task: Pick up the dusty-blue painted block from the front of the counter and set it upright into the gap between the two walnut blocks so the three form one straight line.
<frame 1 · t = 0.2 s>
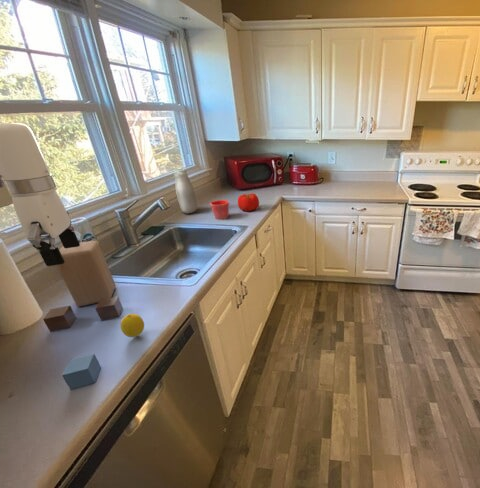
hand: (64, 255, 68), 29 cm above the countertop, tool pointing down, fingers open, 9 cm apart
block left: (63, 324, 88), on the countertop
glass bottle: (190, 213, 183), on the countertop
blue block: (86, 378, 70), on the countertop
block right: (112, 314, 92), on the countertop
block: (98, 297, 101), on the countertop
lemon: (137, 336, 83), on the countertop
flower pot: (222, 217, 175), on the countertop
tomato: (249, 210, 188), on the countertop
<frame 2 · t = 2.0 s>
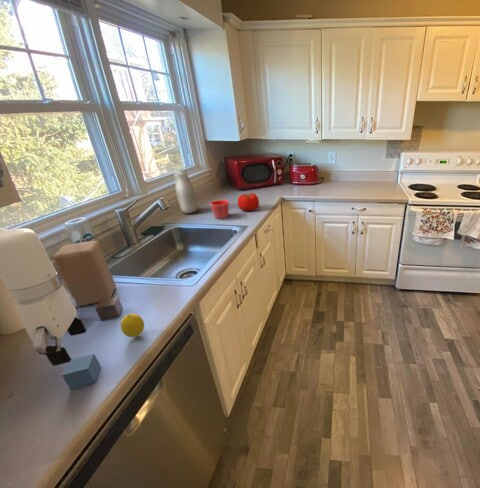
hand: (71, 347, 66), 10 cm above the countertop, tool pointing down, fingers open, 9 cm apart
nothing on the countertop moved.
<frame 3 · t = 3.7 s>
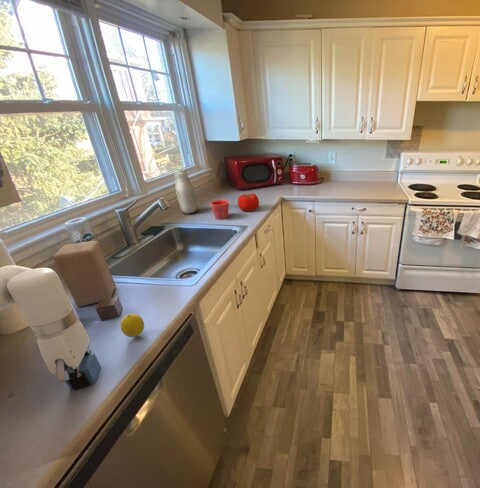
hand: (85, 376, 70), 0 cm above the countertop, tool pointing down, fingers closed on blue block, 5 cm apart
blue block: (86, 378, 70), on the countertop, touching gripper
everything else where it was.
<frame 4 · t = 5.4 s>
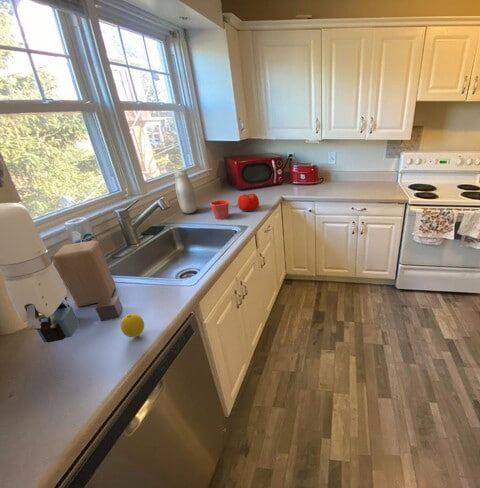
hand: (61, 330, 65), 14 cm above the countertop, tool pointing down, fingers closed on blue block, 5 cm apart
blue block: (62, 332, 65), point 14 cm above the countertop, touching gripper
everything else where it was.
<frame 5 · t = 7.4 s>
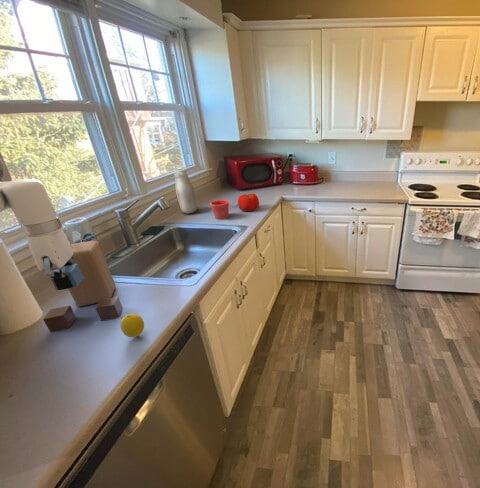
hand: (69, 282, 83), 15 cm above the countertop, tool pointing down, fingers closed on blue block, 5 cm apart
blue block: (70, 283, 83), point 14 cm above the countertop, touching gripper
everything else where it was.
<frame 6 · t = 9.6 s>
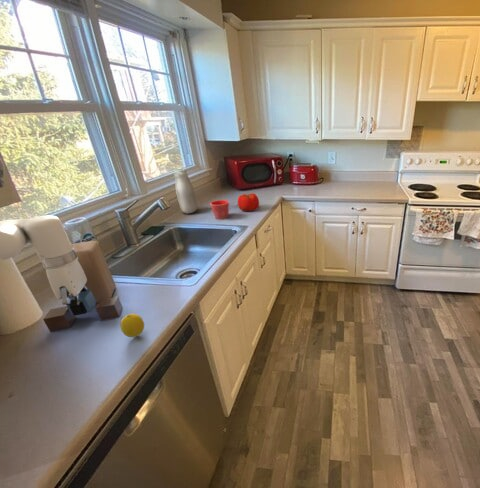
hand: (83, 308, 88), 4 cm above the countertop, tool pointing down, fingers closed on blue block, 5 cm apart
blue block: (84, 309, 89), point 4 cm above the countertop, touching gripper
everything else where it was.
when the fingers open (0 cm above the countertop, at t = 11.1 s): blue block stays where it is, on the countertop.
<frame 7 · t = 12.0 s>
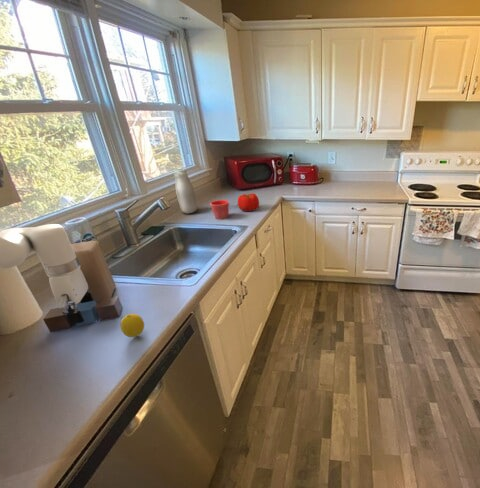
hand: (83, 313, 89), 3 cm above the countertop, tool pointing down, fingers open, 9 cm apart
blue block: (89, 319, 90), on the countertop
everything else where it was.
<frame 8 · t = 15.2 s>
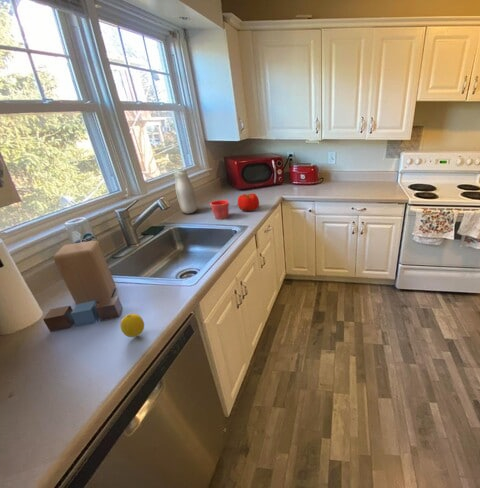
nothing on the countertop moved.
at the end: blue block 0.2 cm from the target spot on the countertop beside the block left, on the countertop; blue block tilted 0°; block right moved 0.0 cm from its start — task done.
